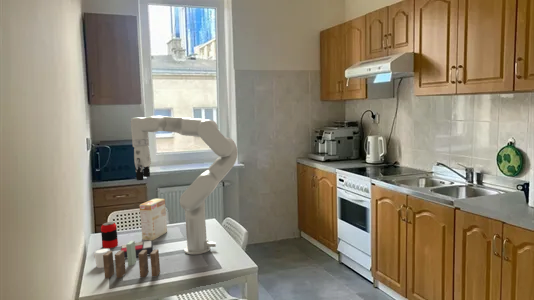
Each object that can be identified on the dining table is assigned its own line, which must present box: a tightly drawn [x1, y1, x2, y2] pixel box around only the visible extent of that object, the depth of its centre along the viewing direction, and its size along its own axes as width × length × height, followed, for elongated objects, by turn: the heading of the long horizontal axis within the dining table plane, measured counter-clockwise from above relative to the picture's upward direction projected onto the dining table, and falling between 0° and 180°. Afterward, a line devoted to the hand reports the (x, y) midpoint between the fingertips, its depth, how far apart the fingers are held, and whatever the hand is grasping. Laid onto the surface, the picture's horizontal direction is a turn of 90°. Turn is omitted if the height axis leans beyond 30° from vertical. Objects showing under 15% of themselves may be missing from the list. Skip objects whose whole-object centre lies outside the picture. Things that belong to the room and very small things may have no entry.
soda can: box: [100, 221, 119, 249], centre depth 215 cm, size 8×8×12 cm
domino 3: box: [125, 240, 137, 267], centre depth 189 cm, size 2×5×10 cm, turn 178°
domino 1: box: [103, 250, 115, 279], centre depth 176 cm, size 2×5×10 cm, turn 178°
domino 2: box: [114, 250, 127, 279], centre depth 176 cm, size 2×5×10 cm, turn 178°
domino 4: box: [137, 250, 149, 278], centre depth 175 cm, size 2×5×10 cm, turn 178°
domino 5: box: [149, 248, 161, 277], centre depth 175 cm, size 2×5×10 cm, turn 178°
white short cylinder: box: [93, 248, 111, 269], centre depth 188 cm, size 7×7×7 cm
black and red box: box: [119, 240, 154, 259], centre depth 204 cm, size 11×4×15 cm
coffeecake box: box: [139, 198, 168, 241], centre depth 229 cm, size 15×7×20 cm, turn 162°
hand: (143, 178), depth 200 cm, fingers open, 9 cm apart
